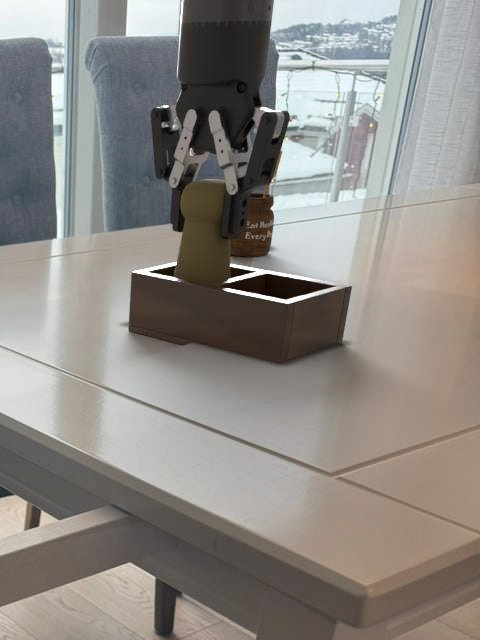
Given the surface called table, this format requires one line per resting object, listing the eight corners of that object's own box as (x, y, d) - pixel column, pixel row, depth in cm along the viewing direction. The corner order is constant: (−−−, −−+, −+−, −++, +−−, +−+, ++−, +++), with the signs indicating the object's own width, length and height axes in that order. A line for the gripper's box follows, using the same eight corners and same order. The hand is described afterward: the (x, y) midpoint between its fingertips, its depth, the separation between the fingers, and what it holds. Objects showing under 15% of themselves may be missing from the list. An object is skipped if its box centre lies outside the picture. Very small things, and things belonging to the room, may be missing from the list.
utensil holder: (214, 252, 125) (224, 151, 119) (251, 247, 127) (262, 148, 121) (244, 259, 121) (256, 155, 114) (281, 254, 123) (295, 152, 117)
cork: (155, 305, 91) (163, 180, 85) (193, 294, 94) (204, 174, 88) (205, 315, 87) (217, 186, 81) (243, 304, 90) (258, 179, 84)
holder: (190, 314, 98) (195, 257, 95) (341, 349, 86) (352, 285, 83) (128, 330, 93) (131, 271, 90) (278, 370, 81) (288, 303, 78)
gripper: (326, 14, 75) (294, 239, 85) (189, 19, 85) (174, 221, 94) (269, 15, 71) (242, 250, 81) (132, 20, 81) (122, 230, 90)
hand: (206, 233), depth 87 cm, fingers closed on cork, 5 cm apart
